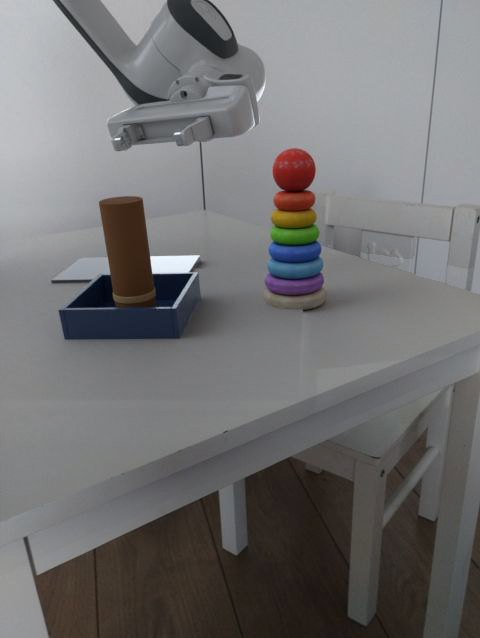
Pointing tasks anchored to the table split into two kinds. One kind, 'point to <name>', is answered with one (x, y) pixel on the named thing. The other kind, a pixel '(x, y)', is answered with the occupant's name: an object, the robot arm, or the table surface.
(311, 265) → the stacking toy
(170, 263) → the board
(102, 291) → the tray
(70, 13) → the robot arm
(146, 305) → the rolled mat
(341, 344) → the table surface
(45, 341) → the table surface
